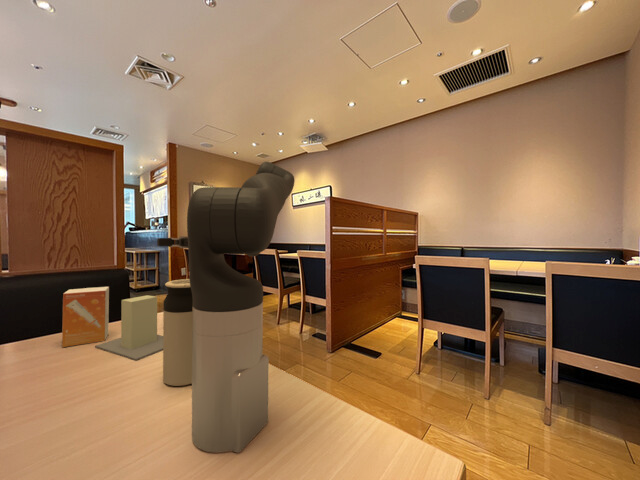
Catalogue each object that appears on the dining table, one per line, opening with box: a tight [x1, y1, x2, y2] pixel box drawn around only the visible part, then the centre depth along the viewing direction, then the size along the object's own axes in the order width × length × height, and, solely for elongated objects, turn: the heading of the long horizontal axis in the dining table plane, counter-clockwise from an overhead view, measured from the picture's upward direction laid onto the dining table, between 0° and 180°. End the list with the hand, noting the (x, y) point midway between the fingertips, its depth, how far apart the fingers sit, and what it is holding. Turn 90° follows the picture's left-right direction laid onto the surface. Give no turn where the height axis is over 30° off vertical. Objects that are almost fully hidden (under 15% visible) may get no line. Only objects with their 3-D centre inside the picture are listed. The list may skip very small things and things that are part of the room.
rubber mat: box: [94, 334, 163, 362], centre depth 64 cm, size 16×11×1 cm
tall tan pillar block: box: [120, 294, 158, 349], centre depth 64 cm, size 4×6×11 cm, turn 155°
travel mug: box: [162, 278, 193, 387], centre depth 49 cm, size 8×8×18 cm
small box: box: [61, 286, 110, 348], centre depth 66 cm, size 8×6×13 cm
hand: (168, 242), depth 68 cm, fingers open, 8 cm apart
